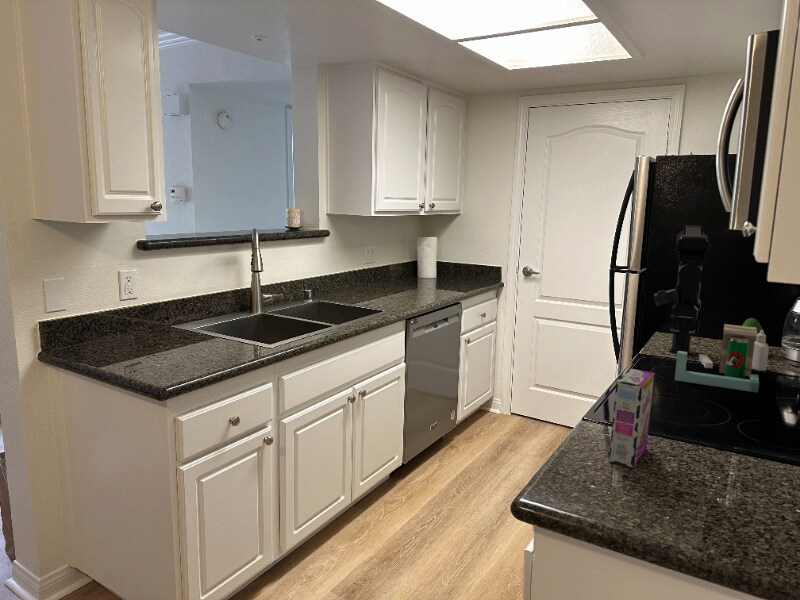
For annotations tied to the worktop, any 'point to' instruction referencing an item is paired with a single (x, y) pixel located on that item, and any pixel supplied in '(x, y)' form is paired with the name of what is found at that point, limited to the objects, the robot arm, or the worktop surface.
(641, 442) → the candy bar box
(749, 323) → the avocado
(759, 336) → the eye dropper bottle
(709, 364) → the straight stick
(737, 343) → the soda can
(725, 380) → the crook tool
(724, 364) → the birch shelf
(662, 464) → the worktop surface
